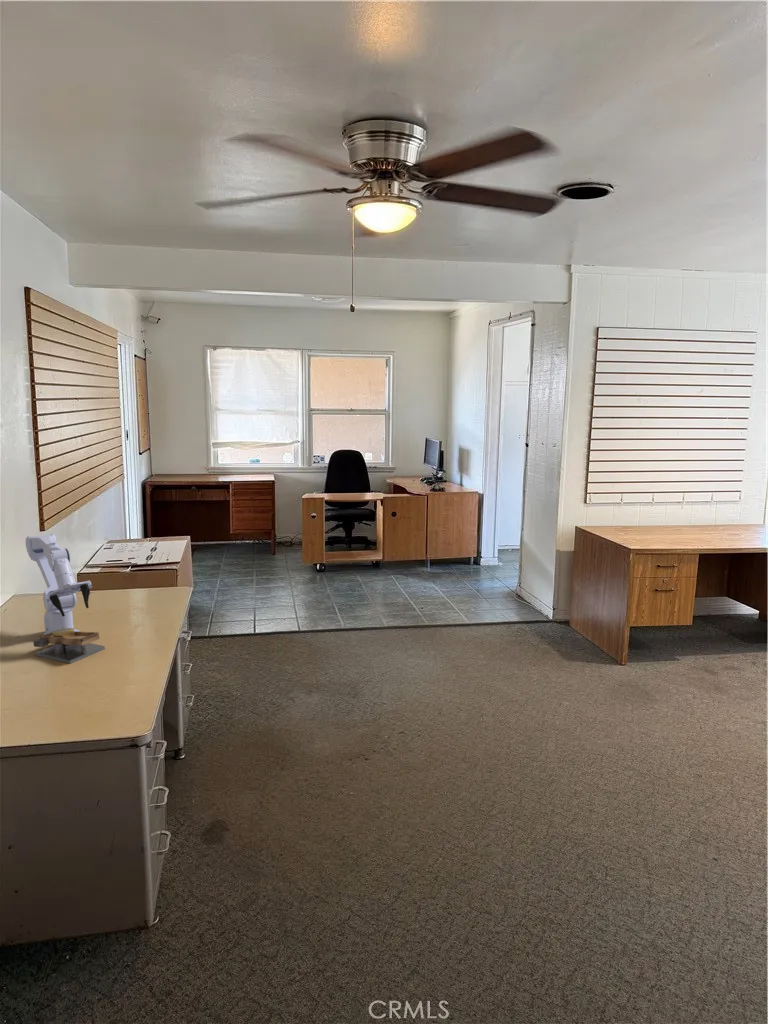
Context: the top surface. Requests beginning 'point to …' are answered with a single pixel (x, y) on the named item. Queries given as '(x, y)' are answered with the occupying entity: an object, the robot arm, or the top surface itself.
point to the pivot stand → (69, 652)
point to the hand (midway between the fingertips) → (75, 610)
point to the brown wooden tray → (67, 639)
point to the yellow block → (64, 632)
